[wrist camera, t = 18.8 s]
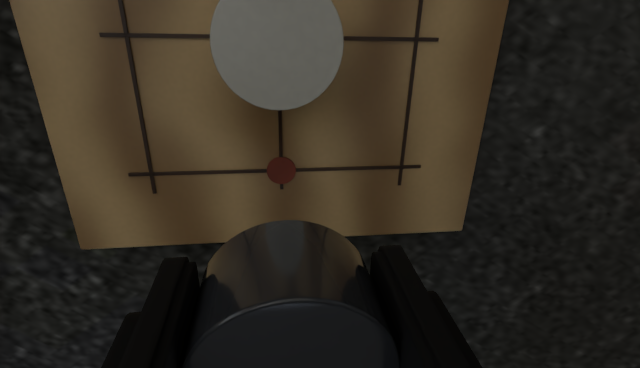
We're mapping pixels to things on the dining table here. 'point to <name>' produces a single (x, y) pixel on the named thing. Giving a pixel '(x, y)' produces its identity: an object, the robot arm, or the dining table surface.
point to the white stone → (277, 49)
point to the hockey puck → (289, 304)
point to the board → (259, 121)
